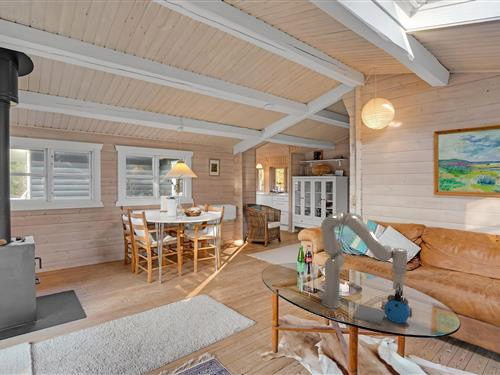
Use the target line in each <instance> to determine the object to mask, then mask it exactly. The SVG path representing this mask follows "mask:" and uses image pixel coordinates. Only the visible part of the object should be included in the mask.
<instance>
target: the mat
mask: <svg viewBox="0 0 500 375" xmlns="http://www.w3.org/2000/svg"><path fill="white" fill-rule="evenodd" d="M385 316H386V314H385V311H384V309H381V308H380V309H379V308H375V307H373V306H368V305H364V304H359V305H358V307H357V308H356V310H355V311H354V313H353V315H352V317H353V318H352V319H355V318H357V319H356V320H359V319H361V320H360V321H362V320H364V321H363V322H366V321H367V323H370V322H371V323H370V324H373V323H374V325H377V326H382V323H383V321H384V318H385Z"/></svg>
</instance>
